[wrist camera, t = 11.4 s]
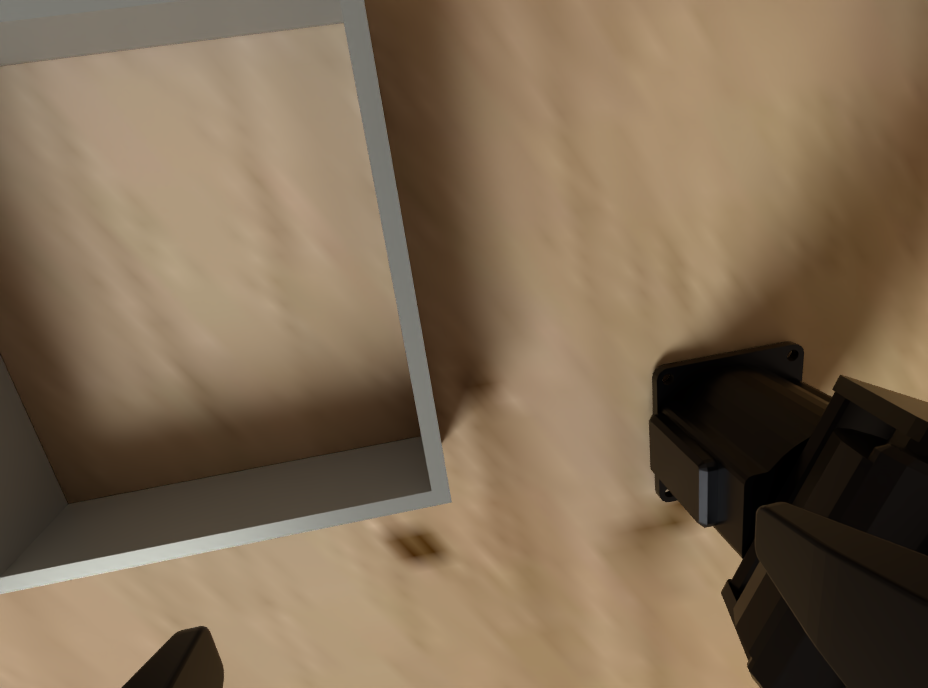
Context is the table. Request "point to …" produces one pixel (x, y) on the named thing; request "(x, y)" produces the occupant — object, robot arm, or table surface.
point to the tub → (239, 493)
